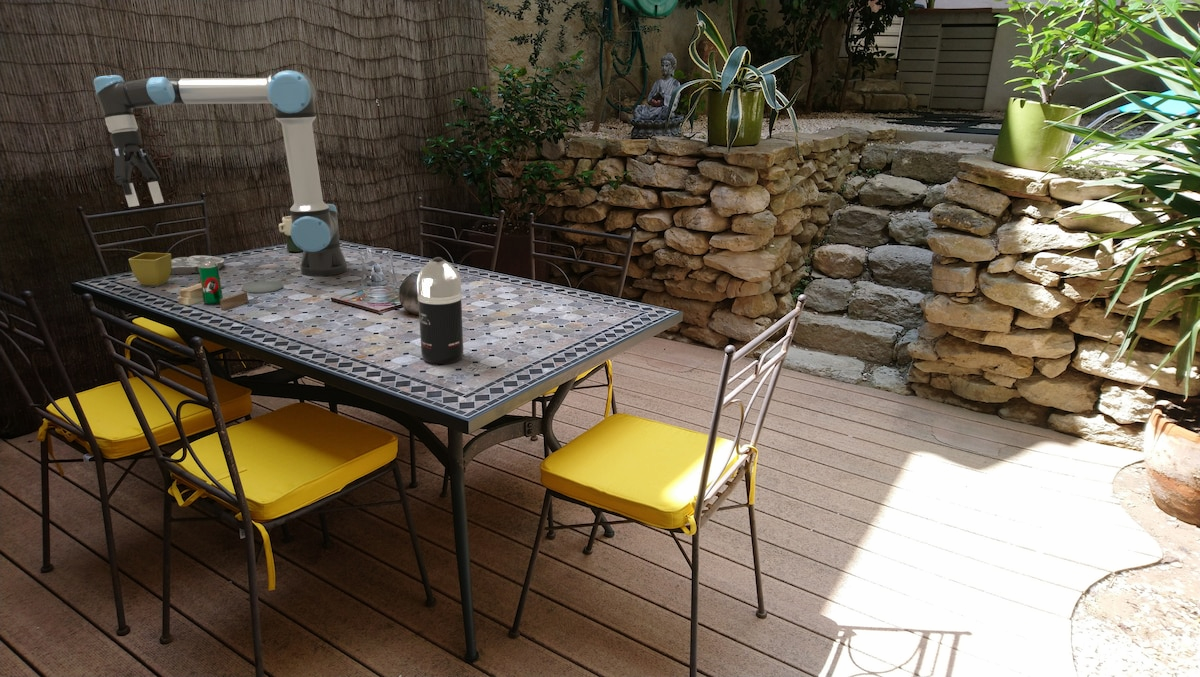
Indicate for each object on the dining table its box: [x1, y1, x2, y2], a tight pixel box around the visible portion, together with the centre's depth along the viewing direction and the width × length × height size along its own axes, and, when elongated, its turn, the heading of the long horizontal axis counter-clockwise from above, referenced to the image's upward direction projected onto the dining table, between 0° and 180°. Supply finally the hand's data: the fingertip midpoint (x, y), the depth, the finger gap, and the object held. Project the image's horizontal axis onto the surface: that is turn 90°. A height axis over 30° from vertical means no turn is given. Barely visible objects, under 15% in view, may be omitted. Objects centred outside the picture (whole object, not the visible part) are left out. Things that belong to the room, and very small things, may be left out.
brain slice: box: [170, 255, 225, 276], centre depth 250 cm, size 20×17×3 cm
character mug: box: [278, 215, 304, 253], centre depth 277 cm, size 11×7×13 cm, turn 137°
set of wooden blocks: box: [177, 282, 249, 311], centre depth 214 cm, size 17×10×4 cm, turn 70°
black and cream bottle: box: [416, 256, 464, 365], centre depth 174 cm, size 10×10×25 cm
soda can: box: [198, 261, 224, 306], centre depth 213 cm, size 5×5×12 cm
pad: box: [241, 280, 284, 294], centre depth 231 cm, size 12×12×1 cm
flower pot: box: [127, 252, 172, 287], centre depth 231 cm, size 9×9×9 cm
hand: (147, 204), depth 220 cm, fingers open, 13 cm apart
